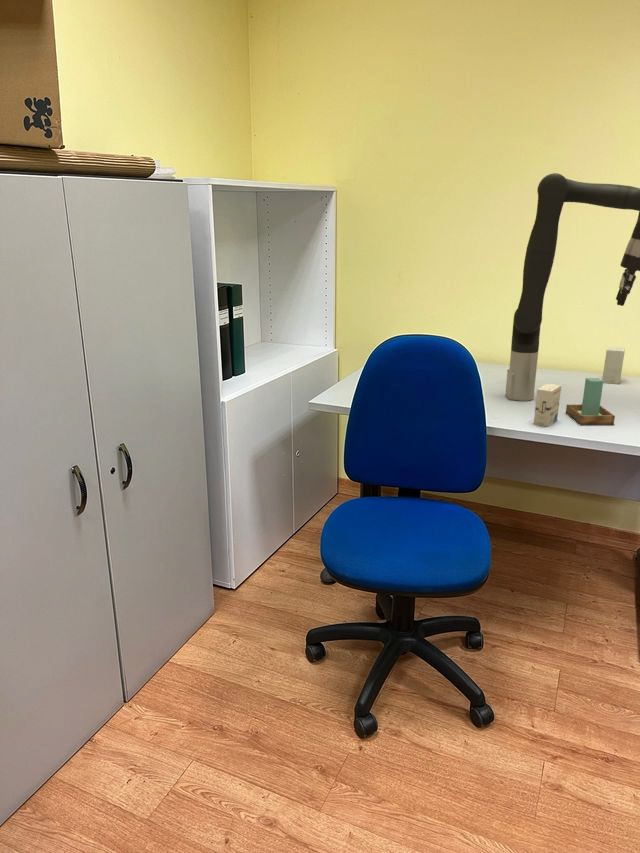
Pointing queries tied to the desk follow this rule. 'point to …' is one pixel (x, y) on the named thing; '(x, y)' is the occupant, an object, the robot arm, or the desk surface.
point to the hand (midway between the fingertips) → (619, 302)
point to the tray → (590, 416)
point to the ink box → (547, 404)
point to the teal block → (592, 396)
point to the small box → (613, 365)
